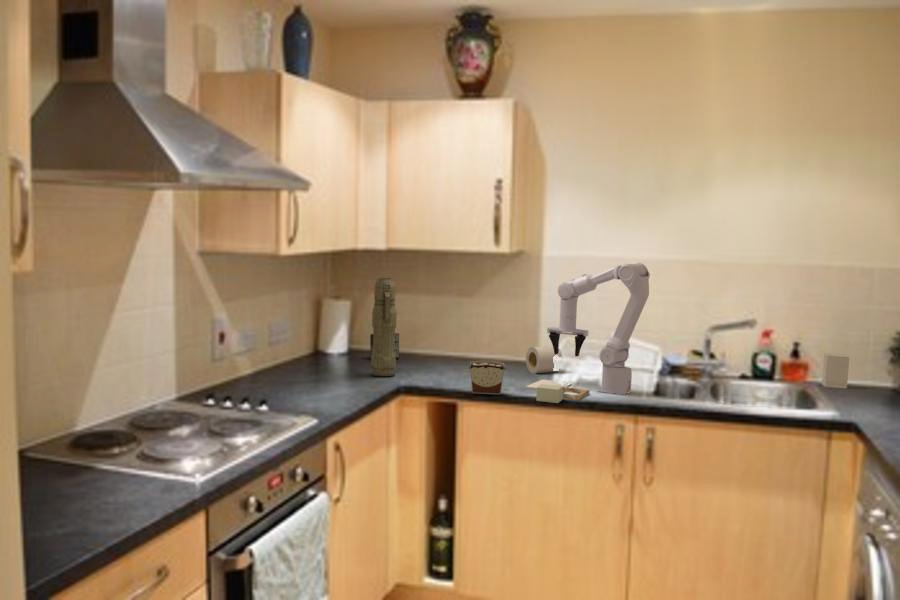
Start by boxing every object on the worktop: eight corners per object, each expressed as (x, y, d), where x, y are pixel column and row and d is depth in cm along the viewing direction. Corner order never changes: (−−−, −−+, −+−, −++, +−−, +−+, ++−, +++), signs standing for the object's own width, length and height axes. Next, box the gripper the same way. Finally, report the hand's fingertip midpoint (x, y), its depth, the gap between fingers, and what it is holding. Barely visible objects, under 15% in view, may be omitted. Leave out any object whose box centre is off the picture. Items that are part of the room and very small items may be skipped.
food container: (505, 390, 262) (506, 361, 261) (505, 394, 256) (506, 364, 255) (468, 389, 263) (469, 359, 262) (467, 392, 257) (468, 362, 256)
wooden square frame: (589, 394, 260) (589, 390, 260) (578, 400, 250) (578, 395, 250) (562, 390, 264) (562, 386, 264) (550, 396, 255) (550, 392, 255)
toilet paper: (547, 369, 305) (548, 344, 304) (561, 374, 296) (562, 348, 295) (525, 371, 300) (526, 345, 300) (538, 375, 291) (539, 349, 291)
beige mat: (571, 385, 274) (571, 383, 274) (555, 392, 261) (555, 390, 261) (542, 381, 280) (542, 379, 280) (525, 388, 267) (525, 386, 266)
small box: (390, 356, 325) (390, 331, 324) (399, 358, 320) (400, 333, 319) (369, 358, 319) (369, 333, 318) (378, 361, 314) (378, 335, 313)
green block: (558, 403, 246) (536, 401, 248) (562, 400, 251) (541, 397, 254) (558, 389, 245) (536, 387, 248) (563, 386, 251) (541, 384, 253)
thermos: (376, 377, 279) (378, 279, 276) (367, 371, 290) (368, 277, 287) (400, 376, 282) (402, 279, 279) (389, 370, 293) (391, 277, 290)
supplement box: (847, 392, 276) (849, 357, 274) (823, 390, 278) (826, 355, 277) (843, 388, 282) (846, 354, 281) (821, 386, 285) (823, 352, 284)
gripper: (591, 317, 275) (590, 355, 276) (552, 314, 281) (551, 351, 283) (585, 318, 268) (583, 358, 270) (545, 315, 275) (544, 353, 276)
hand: (566, 354), depth 276 cm, fingers open, 7 cm apart
